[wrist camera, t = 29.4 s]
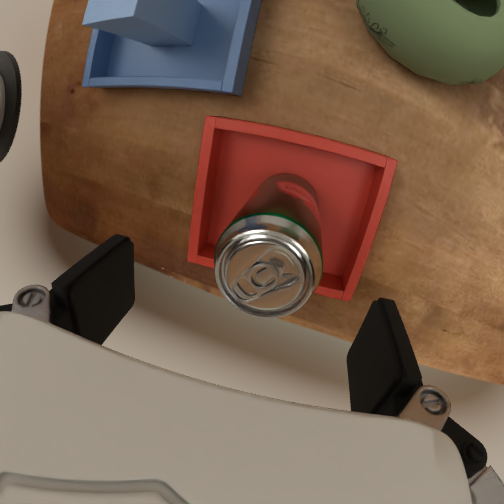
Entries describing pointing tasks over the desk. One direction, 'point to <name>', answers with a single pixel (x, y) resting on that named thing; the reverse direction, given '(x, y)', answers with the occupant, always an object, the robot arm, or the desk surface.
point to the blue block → (146, 20)
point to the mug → (440, 36)
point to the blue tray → (180, 54)
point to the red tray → (307, 167)
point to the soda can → (272, 249)
